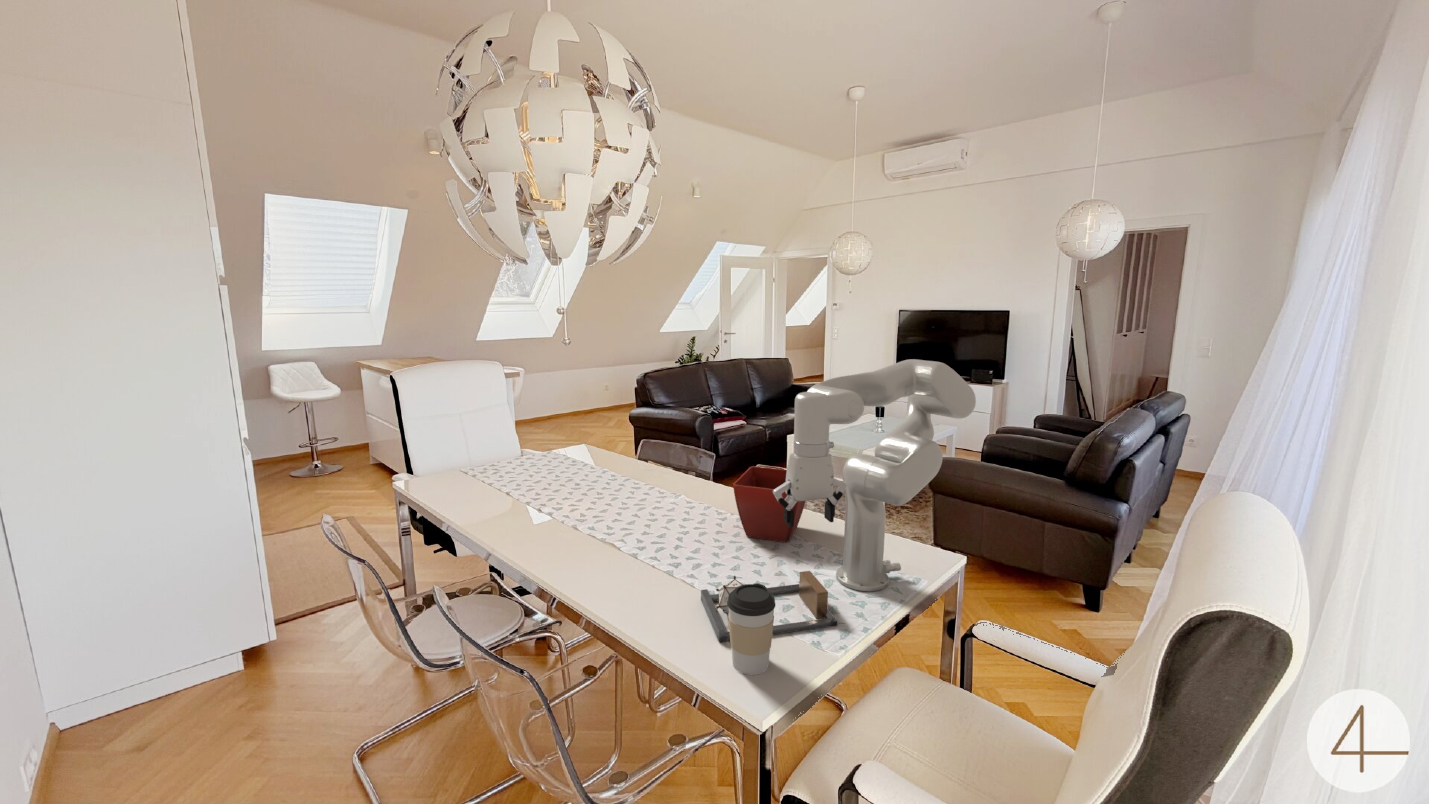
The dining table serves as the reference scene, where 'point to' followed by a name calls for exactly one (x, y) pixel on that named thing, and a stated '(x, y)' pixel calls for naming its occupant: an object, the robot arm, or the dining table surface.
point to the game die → (726, 594)
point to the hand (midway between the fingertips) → (809, 522)
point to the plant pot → (764, 504)
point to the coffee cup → (751, 627)
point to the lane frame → (807, 587)
